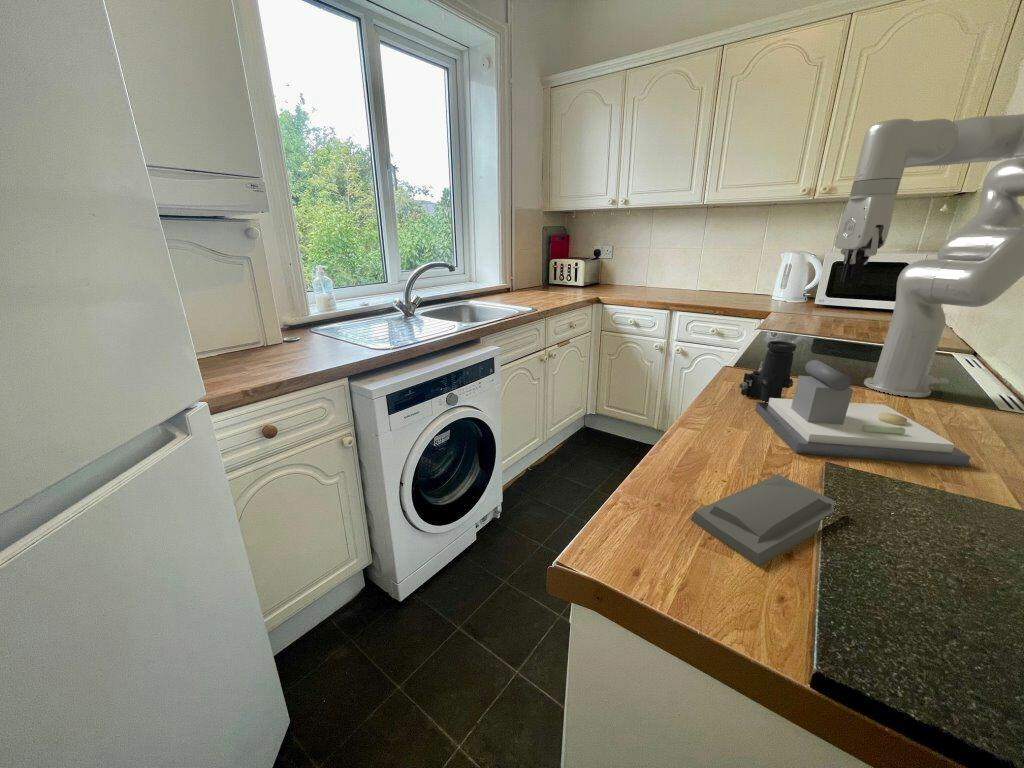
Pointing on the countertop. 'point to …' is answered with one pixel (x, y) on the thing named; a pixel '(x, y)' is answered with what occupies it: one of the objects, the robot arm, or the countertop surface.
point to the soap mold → (765, 518)
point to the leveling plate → (849, 415)
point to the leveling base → (855, 451)
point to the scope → (771, 373)
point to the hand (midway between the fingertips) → (849, 282)
